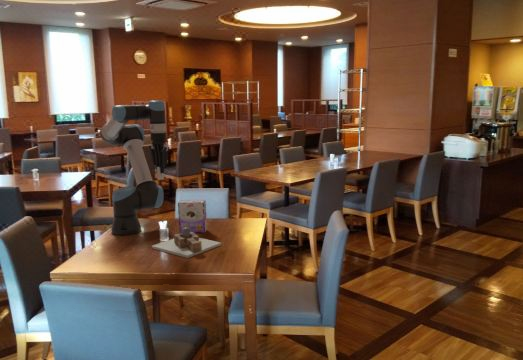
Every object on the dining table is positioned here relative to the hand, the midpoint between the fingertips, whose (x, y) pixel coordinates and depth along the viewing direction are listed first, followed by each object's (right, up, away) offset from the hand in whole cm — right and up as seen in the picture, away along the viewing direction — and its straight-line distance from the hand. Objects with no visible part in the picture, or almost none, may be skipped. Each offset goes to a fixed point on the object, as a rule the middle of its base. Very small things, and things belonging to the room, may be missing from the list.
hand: (160, 179), depth 233 cm
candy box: (+15, -28, +12) cm, 33 cm away
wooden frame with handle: (+17, -31, -17) cm, 40 cm away
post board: (+15, -32, -13) cm, 38 cm away
